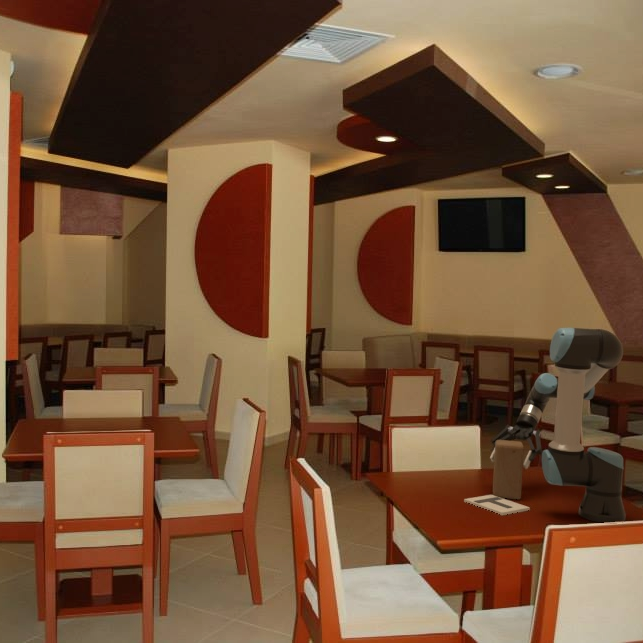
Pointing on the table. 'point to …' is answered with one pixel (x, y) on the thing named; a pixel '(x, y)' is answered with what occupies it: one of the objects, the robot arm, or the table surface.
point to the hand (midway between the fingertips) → (508, 463)
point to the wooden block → (508, 469)
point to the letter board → (497, 504)
